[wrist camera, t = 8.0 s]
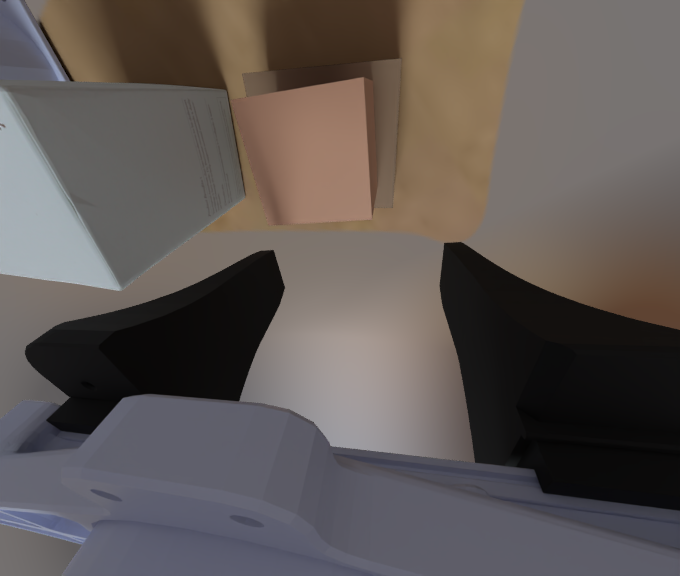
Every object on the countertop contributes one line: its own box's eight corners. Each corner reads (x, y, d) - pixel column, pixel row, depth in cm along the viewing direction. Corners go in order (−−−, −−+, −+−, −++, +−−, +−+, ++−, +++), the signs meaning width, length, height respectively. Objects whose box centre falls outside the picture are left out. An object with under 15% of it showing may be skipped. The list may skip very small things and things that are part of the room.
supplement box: (126, 81, 18) (-220, 64, 8) (230, 88, 17) (-2, 80, 7) (164, 192, 22) (-25, 273, 12) (247, 201, 22) (122, 296, 11)
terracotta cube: (298, 193, 17) (268, 225, 13) (277, 96, 14) (230, 100, 10) (377, 186, 16) (372, 219, 12) (373, 81, 13) (363, 76, 9)
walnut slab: (289, 190, 21) (271, 208, 18) (270, 77, 17) (241, 73, 13) (393, 189, 19) (392, 207, 16) (399, 65, 15) (401, 58, 12)
